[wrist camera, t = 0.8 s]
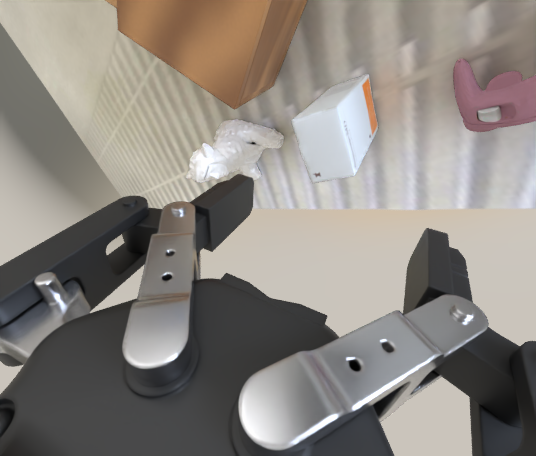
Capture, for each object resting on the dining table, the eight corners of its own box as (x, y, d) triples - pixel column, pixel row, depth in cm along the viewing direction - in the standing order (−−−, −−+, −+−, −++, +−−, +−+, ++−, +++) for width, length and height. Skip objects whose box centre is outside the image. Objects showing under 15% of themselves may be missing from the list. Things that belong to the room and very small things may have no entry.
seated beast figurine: (259, 180, 44) (216, 224, 36) (216, 146, 43) (164, 183, 35) (288, 136, 36) (243, 179, 28) (238, 94, 36) (178, 126, 28)
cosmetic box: (380, 127, 31) (356, 178, 23) (343, 136, 33) (310, 185, 25) (369, 70, 28) (337, 105, 20) (330, 84, 30) (287, 121, 22)
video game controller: (457, 96, 27) (465, 150, 24) (448, 58, 24) (456, 114, 21) (611, 38, 21) (647, 102, 18) (624, -23, 18) (671, 41, 15)
